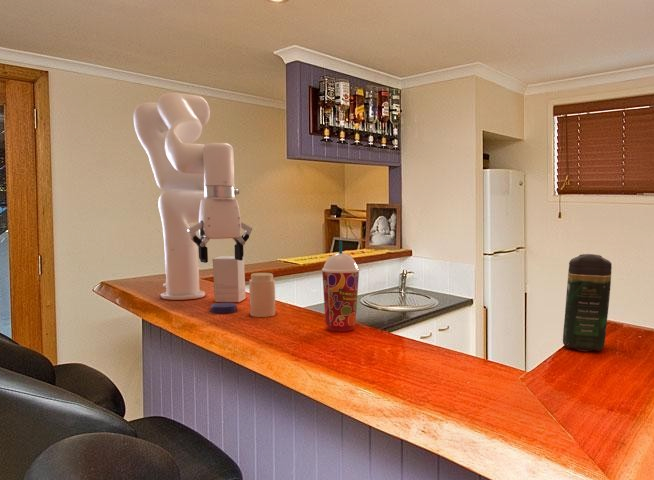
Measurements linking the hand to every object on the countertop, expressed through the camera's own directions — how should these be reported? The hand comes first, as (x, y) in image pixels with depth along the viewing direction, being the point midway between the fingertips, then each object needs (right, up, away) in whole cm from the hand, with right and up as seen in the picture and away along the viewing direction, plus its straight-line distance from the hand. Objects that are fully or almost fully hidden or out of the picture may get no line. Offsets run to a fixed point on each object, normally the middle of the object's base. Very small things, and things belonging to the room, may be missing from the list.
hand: (221, 261), depth 144 cm
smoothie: (+31, -17, -18) cm, 40 cm away
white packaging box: (-2, -10, +18) cm, 21 cm away
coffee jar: (+80, -20, -32) cm, 89 cm away
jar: (+11, -14, -2) cm, 18 cm away
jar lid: (0, -12, +2) cm, 12 cm away
